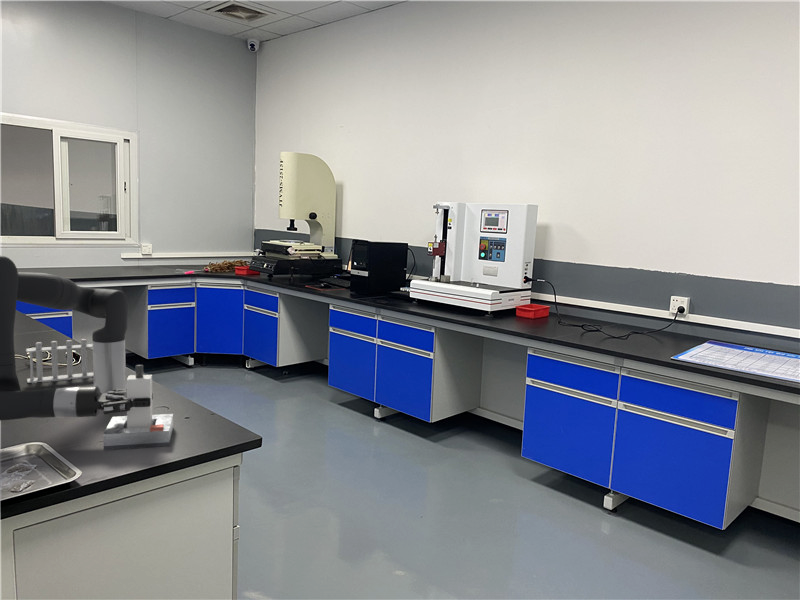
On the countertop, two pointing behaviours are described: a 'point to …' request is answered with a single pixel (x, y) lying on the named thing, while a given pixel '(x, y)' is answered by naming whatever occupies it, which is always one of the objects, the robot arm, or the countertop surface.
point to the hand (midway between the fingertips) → (151, 399)
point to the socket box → (138, 433)
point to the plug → (139, 389)
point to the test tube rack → (55, 361)
